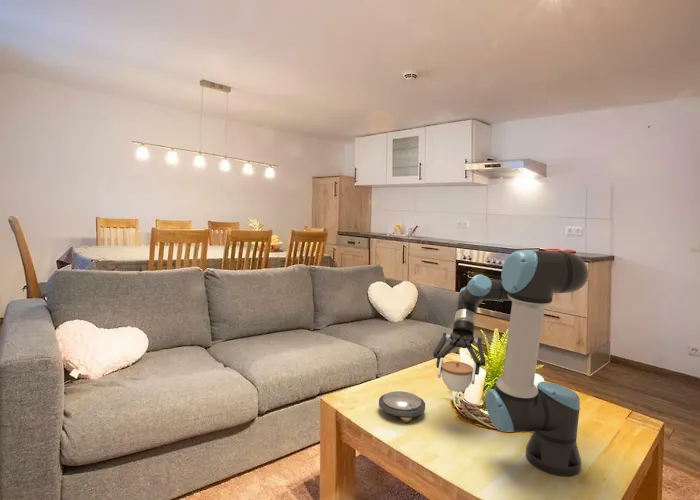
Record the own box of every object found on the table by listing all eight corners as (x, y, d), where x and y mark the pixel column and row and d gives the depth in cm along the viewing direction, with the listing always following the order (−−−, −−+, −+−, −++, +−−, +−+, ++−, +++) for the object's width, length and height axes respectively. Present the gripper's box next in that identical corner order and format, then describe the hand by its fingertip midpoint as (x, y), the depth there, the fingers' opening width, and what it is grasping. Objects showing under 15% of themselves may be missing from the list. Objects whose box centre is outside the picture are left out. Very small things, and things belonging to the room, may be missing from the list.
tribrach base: (429, 407, 160) (429, 395, 159) (418, 428, 144) (419, 414, 143) (386, 398, 166) (387, 386, 166) (372, 417, 150) (372, 404, 150)
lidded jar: (475, 386, 148) (477, 361, 147) (466, 397, 139) (468, 370, 138) (446, 379, 154) (447, 354, 153) (436, 389, 145) (437, 362, 144)
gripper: (497, 334, 155) (491, 390, 142) (434, 325, 164) (423, 378, 151) (497, 323, 149) (491, 380, 136) (432, 315, 158) (420, 368, 145)
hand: (455, 379), depth 143 cm, fingers closed on lidded jar, 11 cm apart
